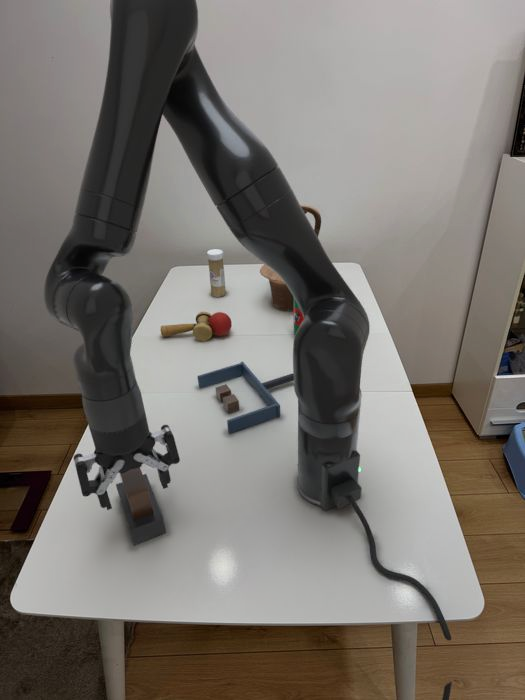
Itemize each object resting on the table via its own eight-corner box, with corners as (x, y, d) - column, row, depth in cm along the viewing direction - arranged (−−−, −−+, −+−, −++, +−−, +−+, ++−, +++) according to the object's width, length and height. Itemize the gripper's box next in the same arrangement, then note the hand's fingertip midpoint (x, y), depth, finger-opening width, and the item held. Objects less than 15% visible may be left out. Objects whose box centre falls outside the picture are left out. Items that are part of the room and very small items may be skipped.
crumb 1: (231, 399, 102) (230, 390, 101) (220, 403, 101) (219, 393, 100) (227, 393, 104) (226, 383, 103) (216, 396, 103) (215, 387, 102)
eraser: (166, 532, 74) (157, 494, 70) (133, 545, 73) (123, 507, 68) (149, 488, 82) (141, 451, 78) (119, 499, 80) (109, 461, 76)
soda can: (312, 339, 121) (313, 296, 115) (292, 338, 122) (291, 295, 116) (314, 329, 125) (315, 287, 119) (295, 328, 126) (295, 286, 120)
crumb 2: (239, 410, 99) (238, 400, 98) (228, 413, 98) (227, 404, 97) (234, 403, 101) (233, 393, 99) (223, 407, 100) (222, 397, 99)
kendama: (162, 350, 122) (232, 338, 121) (155, 326, 120) (227, 314, 118) (168, 339, 129) (234, 328, 128) (162, 317, 127) (229, 305, 126)
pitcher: (327, 292, 143) (331, 196, 129) (316, 319, 130) (318, 215, 115) (270, 287, 148) (267, 194, 133) (253, 313, 134) (248, 212, 119)
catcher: (315, 404, 99) (315, 393, 98) (229, 434, 93) (228, 422, 91) (274, 362, 113) (274, 351, 111) (198, 386, 106) (196, 375, 105)
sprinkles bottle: (208, 295, 145) (203, 253, 138) (216, 289, 148) (212, 247, 141) (221, 298, 143) (217, 255, 136) (229, 292, 146) (225, 249, 139)
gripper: (64, 446, 60) (93, 532, 69) (175, 410, 65) (189, 494, 74) (56, 412, 66) (85, 495, 74) (159, 382, 71) (174, 462, 79)
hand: (137, 494), depth 74 cm, fingers open, 8 cm apart
